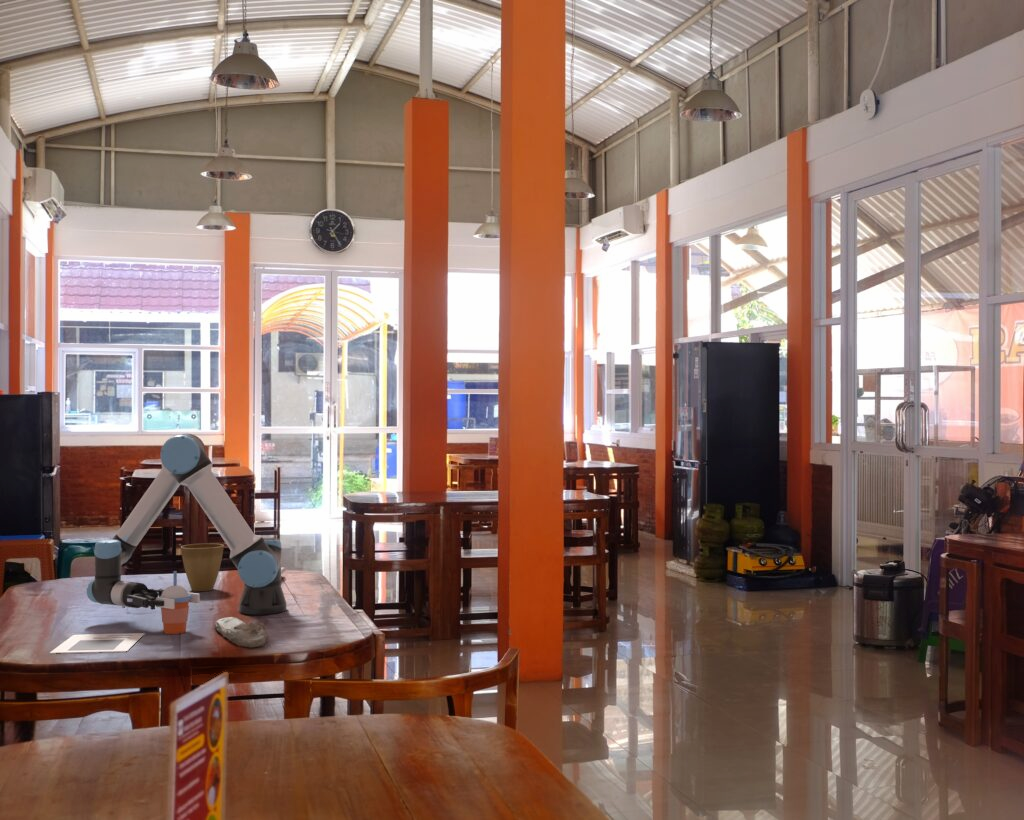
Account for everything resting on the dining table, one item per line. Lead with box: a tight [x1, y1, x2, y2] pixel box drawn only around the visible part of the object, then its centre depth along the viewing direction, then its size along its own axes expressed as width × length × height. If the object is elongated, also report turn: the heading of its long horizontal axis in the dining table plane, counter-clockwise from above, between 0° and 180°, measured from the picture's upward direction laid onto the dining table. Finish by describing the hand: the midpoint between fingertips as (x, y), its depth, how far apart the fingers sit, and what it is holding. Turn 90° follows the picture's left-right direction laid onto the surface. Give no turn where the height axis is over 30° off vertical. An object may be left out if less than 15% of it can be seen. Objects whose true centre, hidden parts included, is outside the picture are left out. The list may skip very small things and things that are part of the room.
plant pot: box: [180, 543, 225, 592], centre depth 377 cm, size 15×15×16 cm
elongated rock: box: [214, 616, 269, 648], centre depth 302 cm, size 35×5×10 cm
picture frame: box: [49, 632, 146, 655], centre depth 292 cm, size 20×22×1 cm
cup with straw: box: [160, 570, 191, 635], centre depth 308 cm, size 9×9×18 cm
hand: (186, 601), depth 305 cm, fingers open, 9 cm apart
